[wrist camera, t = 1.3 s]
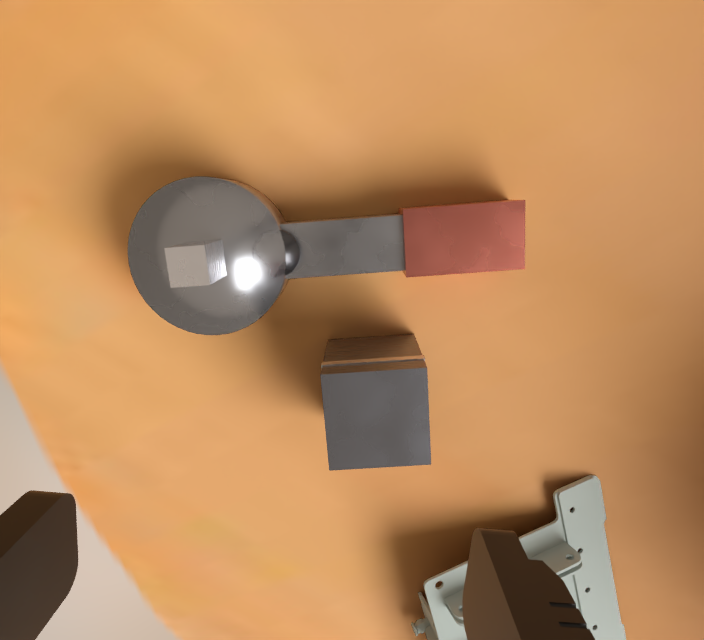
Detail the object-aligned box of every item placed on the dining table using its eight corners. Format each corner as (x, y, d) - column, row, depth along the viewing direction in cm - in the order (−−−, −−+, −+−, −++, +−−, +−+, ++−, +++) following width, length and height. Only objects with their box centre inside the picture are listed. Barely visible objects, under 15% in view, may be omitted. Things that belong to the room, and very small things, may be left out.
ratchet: (508, 155, 27) (549, 144, 21) (509, 302, 29) (546, 328, 23) (140, 184, 28) (82, 181, 22) (163, 325, 30) (116, 357, 24)
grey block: (414, 333, 30) (427, 366, 24) (418, 414, 31) (432, 465, 25) (327, 339, 30) (319, 373, 24) (334, 419, 31) (328, 471, 25)
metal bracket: (472, 787, 31) (413, 581, 27) (432, 702, 36) (379, 522, 33) (665, 678, 33) (633, 480, 30) (600, 616, 39) (568, 442, 36)
